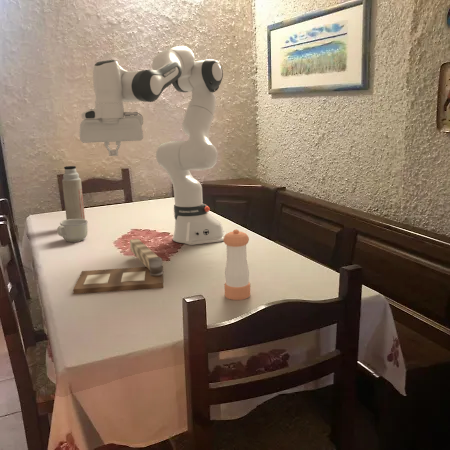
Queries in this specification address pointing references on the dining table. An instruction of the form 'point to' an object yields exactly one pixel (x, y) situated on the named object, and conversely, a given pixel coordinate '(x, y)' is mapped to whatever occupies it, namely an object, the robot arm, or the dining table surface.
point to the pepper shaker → (236, 266)
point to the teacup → (73, 229)
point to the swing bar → (146, 256)
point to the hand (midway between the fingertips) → (113, 155)
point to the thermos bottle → (73, 194)
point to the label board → (117, 280)
